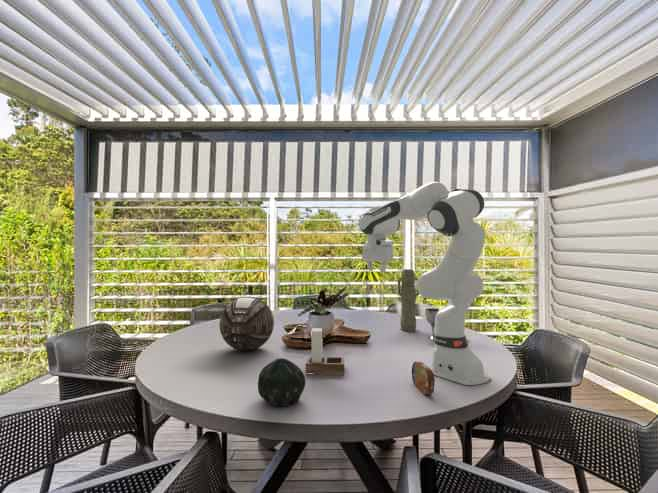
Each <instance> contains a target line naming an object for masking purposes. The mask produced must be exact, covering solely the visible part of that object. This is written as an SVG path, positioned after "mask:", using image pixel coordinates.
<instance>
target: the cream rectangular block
mask: <svg viewBox="0 0 658 493" xmlns="http://www.w3.org/2000/svg"><path fill="white" fill-rule="evenodd" d="M310 340H311V343H310V344H311V357H312V363H322V357H323V339H322V328H312V331H311V339H310Z"/></svg>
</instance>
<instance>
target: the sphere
mask: <svg viewBox="0 0 658 493" xmlns="http://www.w3.org/2000/svg"><path fill="white" fill-rule="evenodd" d="M274 319H275V318H274V315H273V312H272V309H271V308H270V306H269V305H268V304H267V303H266V302H264V301H263V300H262V299H260V298H257V297H255V296H241V297H238V298H236V299H234V300H231V302H230V303H228V305H227V306H225V307H224V309H223V311H222V313H221V315H220V318H219V332H220V335H221V338H222V339H223V341H225V343H226V344H227V345H228V346H229V347H231V348H233V349H235V350H237V351H243V352H248V351H254V350H256V349H258V348H259V349H260V347H262V346H264V344H265V345H266V343H267V342H268V341H269V339H270V338H271V336H272V334H273V332H274V328H275V327H274V326H275V320H274Z"/></svg>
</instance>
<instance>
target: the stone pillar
mask: <svg viewBox="0 0 658 493" xmlns="http://www.w3.org/2000/svg"><path fill="white" fill-rule="evenodd" d="M415 274H416V273H415V270H413V269H410V268H409V269H403V270H402V273H401V277H399V279H397V295H398V296H400V301H401V308H400V310H401V312H400V313H401V315H400V331H402V332H409V333H410V332H411V333H412V332H413V333H414V332H416V331H417V318H416V301H417V296H419V295H420V294H419V292H418V290H417V288H416V285H415V284H416V281H417V280H418V278H419V277H416V275H415Z"/></svg>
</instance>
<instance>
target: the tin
mask: <svg viewBox="0 0 658 493" xmlns="http://www.w3.org/2000/svg"><path fill="white" fill-rule="evenodd" d="M411 379H412V380H411V381H412V384H413V385H414V387H416V388H417V389H418V390H419V391H420V393H421V394H422V393H423V395H431V394H433V393H434V391H435V382H436V378H435V375H434V374H433V371H432V370H431V367H429V366H428V365H426V364H425V363H424V362H422V361H414V362H413V363H412V367H411Z"/></svg>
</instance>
